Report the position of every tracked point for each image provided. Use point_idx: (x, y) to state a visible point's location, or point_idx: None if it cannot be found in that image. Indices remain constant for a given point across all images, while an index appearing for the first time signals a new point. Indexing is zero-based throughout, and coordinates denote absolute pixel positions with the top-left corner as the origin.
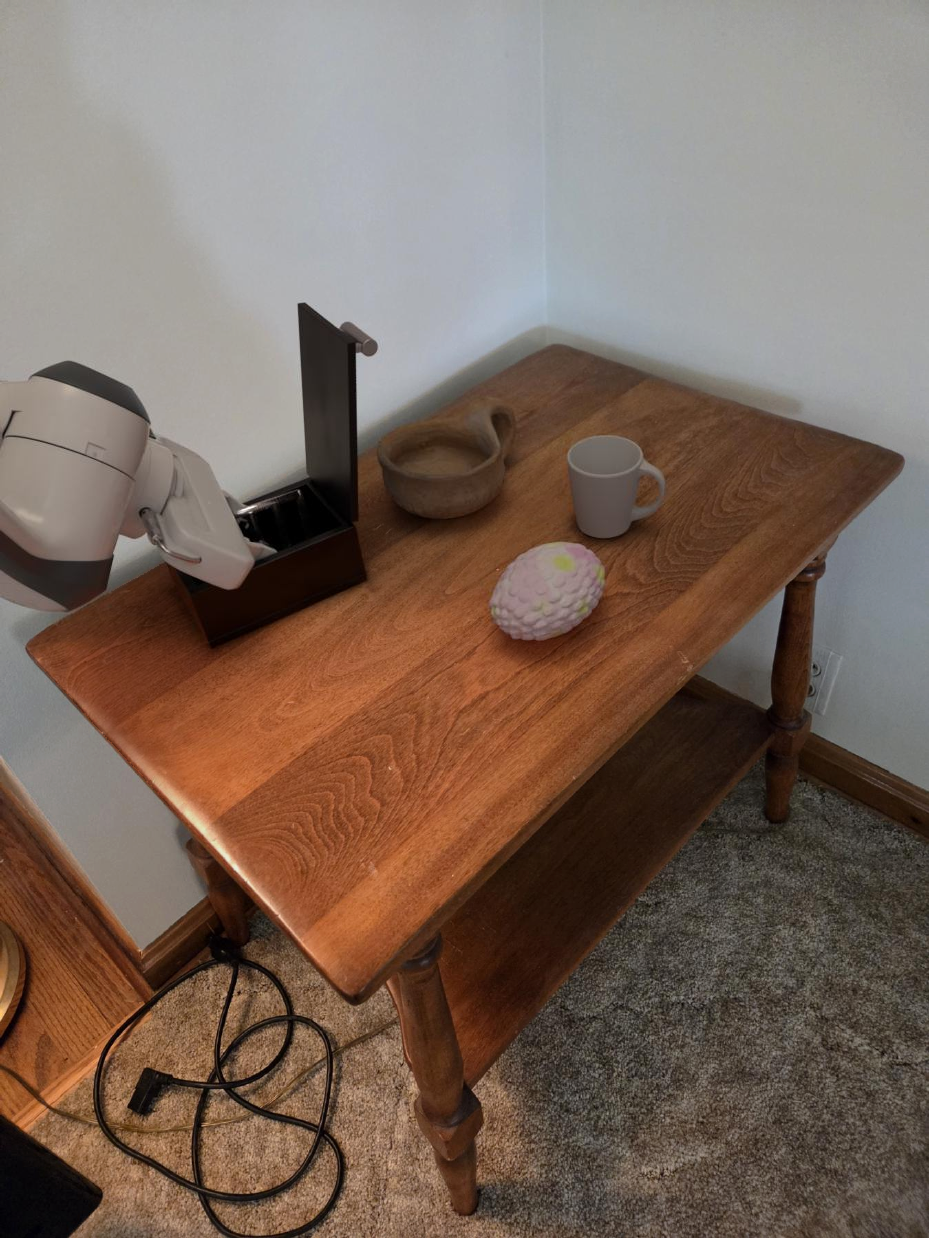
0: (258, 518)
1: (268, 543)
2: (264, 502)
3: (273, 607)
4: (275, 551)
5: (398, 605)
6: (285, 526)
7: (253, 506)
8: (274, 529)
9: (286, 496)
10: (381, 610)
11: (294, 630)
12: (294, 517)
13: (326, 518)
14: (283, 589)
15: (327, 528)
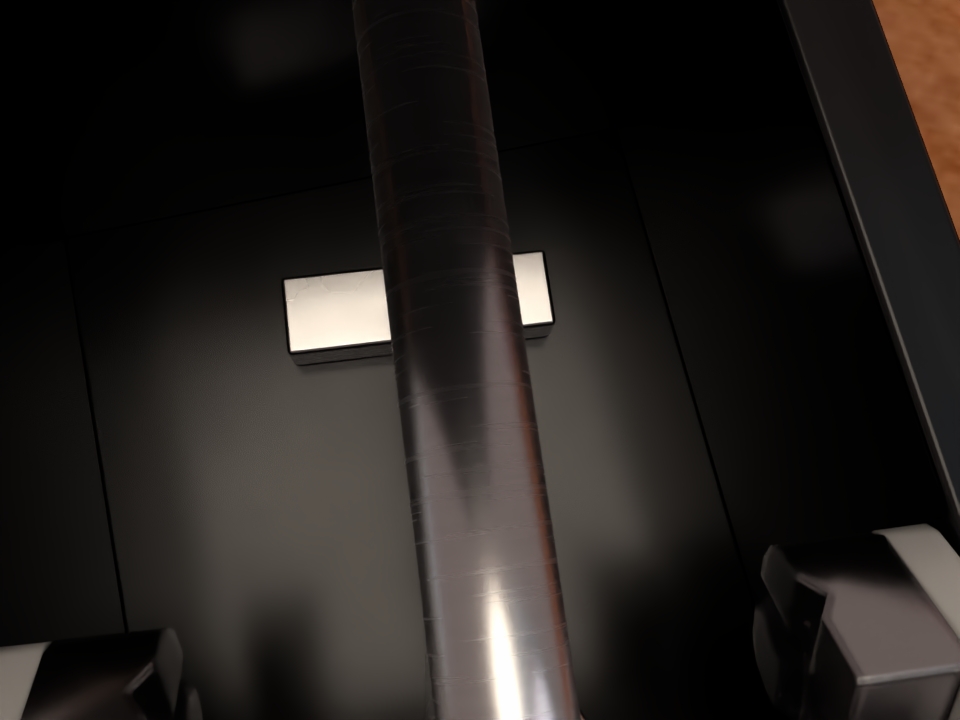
0: (166, 636)
1: (826, 593)
2: (502, 480)
3: None
4: (940, 540)
5: (897, 6)
6: (41, 423)
7: (538, 692)
8: (54, 516)
9: (473, 117)
10: (909, 91)
11: None
12: (10, 322)
13: (304, 48)
14: None
15: (283, 118)
